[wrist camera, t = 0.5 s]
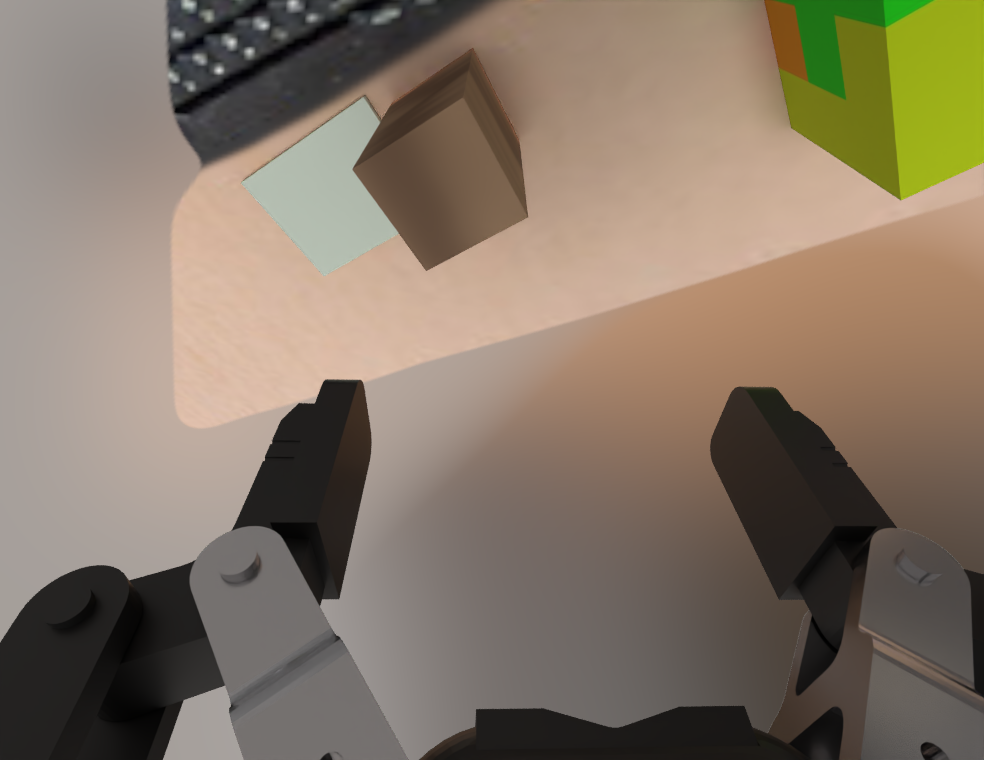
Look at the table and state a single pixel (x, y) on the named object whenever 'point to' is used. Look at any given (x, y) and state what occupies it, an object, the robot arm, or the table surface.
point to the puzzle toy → (886, 84)
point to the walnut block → (446, 164)
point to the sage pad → (325, 191)
